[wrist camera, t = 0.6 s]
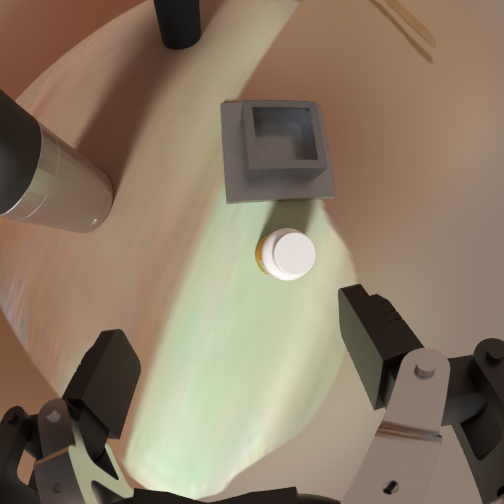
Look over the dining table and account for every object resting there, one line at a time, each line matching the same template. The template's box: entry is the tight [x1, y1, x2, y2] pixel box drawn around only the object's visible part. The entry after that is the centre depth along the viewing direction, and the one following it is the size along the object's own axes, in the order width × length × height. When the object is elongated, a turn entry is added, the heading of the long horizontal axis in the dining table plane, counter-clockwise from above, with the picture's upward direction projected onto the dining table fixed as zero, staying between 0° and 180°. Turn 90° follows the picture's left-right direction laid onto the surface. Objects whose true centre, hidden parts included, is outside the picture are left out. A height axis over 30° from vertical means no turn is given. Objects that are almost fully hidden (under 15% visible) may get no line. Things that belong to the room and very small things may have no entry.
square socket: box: [221, 100, 335, 204], centre depth 33 cm, size 14×14×6 cm
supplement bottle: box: [255, 228, 316, 280], centre depth 30 cm, size 5×5×10 cm
